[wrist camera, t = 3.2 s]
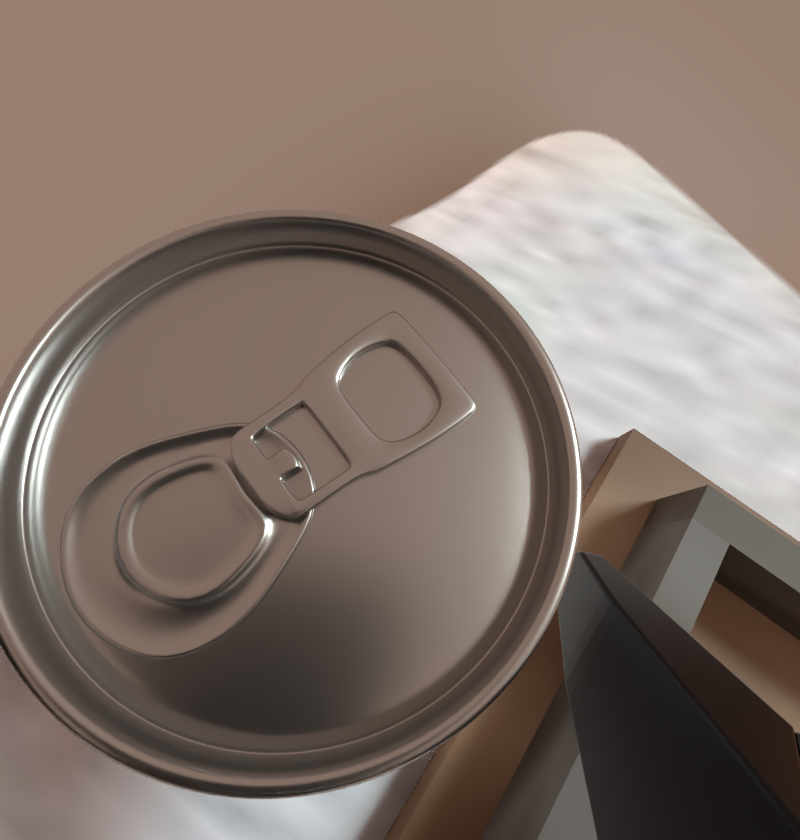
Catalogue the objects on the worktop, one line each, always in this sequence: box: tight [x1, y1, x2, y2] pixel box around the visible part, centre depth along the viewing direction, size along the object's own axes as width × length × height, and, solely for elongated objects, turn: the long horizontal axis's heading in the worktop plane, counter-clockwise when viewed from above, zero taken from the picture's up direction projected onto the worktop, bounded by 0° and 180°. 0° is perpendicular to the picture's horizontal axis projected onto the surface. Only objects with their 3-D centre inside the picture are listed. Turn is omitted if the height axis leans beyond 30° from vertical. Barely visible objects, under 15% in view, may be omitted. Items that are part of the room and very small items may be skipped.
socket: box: [385, 429, 800, 840], centre depth 13 cm, size 16×16×4 cm
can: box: [0, 210, 583, 799], centre depth 10 cm, size 6×6×12 cm
